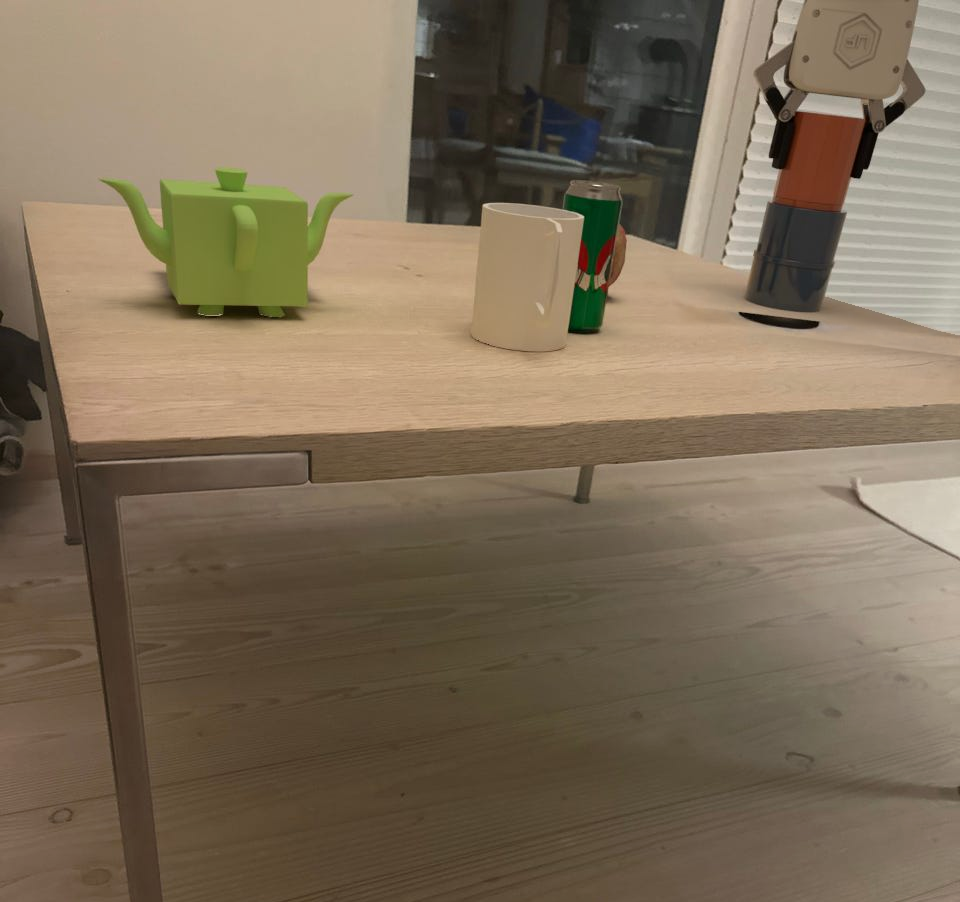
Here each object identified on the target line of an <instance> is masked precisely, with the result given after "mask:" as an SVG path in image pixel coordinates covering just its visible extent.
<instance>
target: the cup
mask: <svg viewBox="0 0 960 902" xmlns="http://www.w3.org/2000/svg"><path fill="white" fill-rule="evenodd" d="M481 208H482V209H481V219H480V231H479V241H478V242H479V243H478V252H477V264H476V273H475V284H474V285H475V286H474V295H473V307H472V317H471V318H472V319H471V329H470V335H471V337H472V338H473V339H474V340H476V341H478V340H479V341H478V342H480V343H482V344H485V343H486V344H485V345H488V344H489V345H488V346H492V347H496V348H501V349H507V350H512V351H520V352H539V353H541V352H553V351H558V350H561V349H563V348H565V347H566V346H567V340H568V333H569V331H568V326H569V320H570V313H571V306H572V299H573V292H574V285H575V278H576V271H577V264H578V257H579V250H580V243H581V236H582V229H583V222H584V216H583V215H581V214H578V213H575V212H571V211H567V210H562V209H561V208H556V207H550V206H542V205H534V204H526V203H513V202H512V203H511V202H488V203H483V204H482V207H481Z"/></svg>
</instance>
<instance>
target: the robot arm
mask: <svg viewBox="0 0 960 902" xmlns="http://www.w3.org/2000/svg"><path fill="white" fill-rule="evenodd" d="M919 1H920V0H803V4H802V7H801V10H800V13H799V16H798V19H797V23H796V26H795V29H794V32H793V36H792V39H791V42H789V43H788V44H787V45H786V46H784V47H783V48H782V49H780V50H779V51H778V52H776V53H774V54H773V55H772V56H770V57H769V58H768V59H767V60H765V61H764V62H762V63H761V64H760V65H759V66H757V67H756V68H755V69H754V70H753V78H754V80H755V82H756V84H757V86H758V88H759V90H760V92H761V94H762V96H763V99H764V101H765V103H766V104H767V106H768V109H770V112H771V113H772V114H773V115H772V116H773V118H774V120H775V121H776V122H775V125H774V129H773V134H772V139H771V143H770V147H769V151H768V159H771V160H772V162H771V168H773V169H776V170H779V169H781V170H782V169H783V168H785V165H786V161H787V157H788V153H789V149H790V145H791V141H792V137H793V133H794V129H795V125H794V123H792V122H793V118H794V116H793V115H794V113H795V112H796V111H798V109H799V108H800V107H801V105H802V103H803V102H804V101H805V99H806V98H807V96H808V95H809V94H815V95H817V94H818V95H825V96H833V97H841V98H851V99H859V100H860V103H861V104H860V105H861V111H862V116H863V117H862V119H867V122H866V126H865V130H864V133H863V137H862V140H861V144H860V147H859V151H858V155H857V158H856V162H855V165H854V169H853V173H852V176H851V179H858V180H860V179H861V178H862V175H863V172H864V171H866V170H867V171H868V170H869V167H870V165H871V161H872V159H873V154H874V151H875V148H876V144H877V141H878V137H879V134H880V133H882V132H884V130H885V129H886V128H887V127H888V126H890V125H891V124H892V123H893V122H895V121H896V120H897V119H899V118H900V117H901V116H903V114H905V112H906V111H907V110H908V109H910V108H911V107H912V106H913V105H914V104H916V103H917V102H918V101H919V100H920V99H921V98H922V97H924V96H925V94H926V87H925V85H924V84H923V82H922V80H921V79H920V77H919V75H918V74H917V72H916V70H915V69H914V67H913V66H912V64H911V63H910V61H909V59H908V56H909V52H910V48H911V42H912V38H913V34H914V29H915V24H916V20H917V19H916V18H917V14H918V7H919ZM783 67H784V71H783V82H784V85H785V86H786V87H788V88H789V90H788V92H787V93H786V94H785V96H783V94H782V93H781V91H780V89H779V88H778V86H777V85H776V82H775V79H774V76H775V73H777V71H779V70H780V69H782V68H783ZM900 86H901V87H902V93H901V94H900V95H899V96H898V97H897V98H896V99H895V100H894V101H892V102H891V103H889V104H888V105H887V106H885V107H884V100H885V99H889V98H891V97H893V96H895V95H896V94H897V92H898V90H899V89H900Z"/></svg>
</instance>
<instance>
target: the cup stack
mask: <svg viewBox="0 0 960 902" xmlns="http://www.w3.org/2000/svg"><path fill="white" fill-rule="evenodd" d="M772 200H773V199H772ZM772 200H771V199H770V200H767V202H766V206H765V207H766V208H765V212H764V216H763V221H762V223H761V224H762V225H761V229H760V233H759V237H758V241H757V245H756V249H754V251H753V252H752V253H753V254H752V256H753V258H752V263H751V266H750V271H749V275H748V279H747V283H746V288H745V292H744V295H743V299H744V301H747V302H749V303H751V304H754V305H757V306H760V307H765V308H770V309H774V310H780V311H785V312H794V313H818V312H821V311H822V308H823V305H824V301H825V297H826V293H827V290H828V287H829V284H830V283H829V282H830V280H831V276H832V272H833V269H834V268H835V265H836V261H835V258H836V254H837V250H838V247H839V243H840V239H841V237H842V232H843V228H844V225H845V221H846V217H847V215H848V211H847V210H845V209H842V210H841V211H839V212H833V211H820V210H811V209H804V208H797V207H791V206H786V205H781V204H777V203H774V202H772ZM738 315H739V316H740V317H742V318H744V319H746V320H748V321H752V322H755V323H759V324H762V325H763V324H764V325H766V326H771V327H778V328H786V329H795V330H811V329H816V328H818V327H819V326H820V321H819V320H811V319H803V318H794V317H786V316H777V315H769V314H761V313H752V312H745V311H738Z"/></svg>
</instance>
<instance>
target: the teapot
mask: <svg viewBox="0 0 960 902" xmlns="http://www.w3.org/2000/svg"><path fill="white" fill-rule="evenodd" d="M214 171H215V175H216V178H217V180H218V182H212V181H196V180H180V179H179V180H178V179H165V178H164V179H163V178H162V179H160V180H159V192H160V204H161V205H160V206H161V216H162V217H161V219H162V226H160V225H158V223H156V221H155V220H154V219H153V217H152V215H151V213H150V210H149V209H148V206H147V203H146V201H145V199H144V196H143V195H142V193H141V191H140V190H139V189H138V188H137V187H136V186H135V185H134V184H133V183H132V182H129V181H128V180H122V179H116V178H104V177H102V178H101V177H100V178H97V179H98V180H99V181H100V182H102V183H103V184H106V185H107V186H109V187H110V188H112V189H114V190H115V191H116V192H117V193H118V194H119V195H120V196H121V197H122V199H123V200H124V202H125V203H126V205H127V207H128V210H129V211H130V214H131V216H132V218H133V221H134V224H135V227H136V230H137V232H138V235H139V237H140V239H141V241H142V243H143V244H144V246H145V248H146V249H147V251H148V252H149V253H150V255H152V256H153V257H154V258H156V259H157V260H158V261H160V262H161V263H163V264H165V270H166V281H167V284H168V286H169V288H170V289H171V292H172V294H173V296H174V297H175V300H176V302H177V304H178V305H192V306H193V305H194V306H196V305H198V308H197V311H196V313H197V312H198V313H200V314H204V315H219V314H222V313H223V314H224V311H225V306H254V307H255V306H256V307H257V309H258V313H259V315H260V314H262V315H266V316H272V317H279V318H281V317H280V316H284V315H285V316H286V314H285V312H284V311H283V309H282V307H308V306H309V284H308V283H309V281H308V280H309V276H308V275H309V268H308V267H309V265H310V264H311V263H312V262H313V261H315V260H316V258H317V256H318V255H319V253H320V251H321V249H322V247H323V245H324V244H323V243H324V241H325V236H326V233H327V229H328V225H329V221H330V219H331V216H332V215H333V212H334V211H335V210H336V208H337V207H338V206H339V205H340V204H341V203H342V202H344V201H346V200H347V199H349V198H351V197H353V196H354V194H353V193H346V192H345V193H344V192H328V193H327V194H324V195H323V196H322V197H321V198H320V199H319V200H318V202H317V203H316V206H315V209H314V211H313V214H312V217H311V220H310V222H308V221H309V220H308V219H309V214H308V212H309V208H308V207H309V206H308V205H309V204H308V202H307V201H306V200H305V199H303V198H302V197H300V196H299V195H297V194H296V193H294V192H293V191H291V190H290V189H288V188H286V187H285V186H274V185H261V184H259V185H257V184H245V183H246V181H247V177H248V171H246V169H243V168H237V167H217V168H215V169H214ZM285 316H284V317H285Z"/></svg>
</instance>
